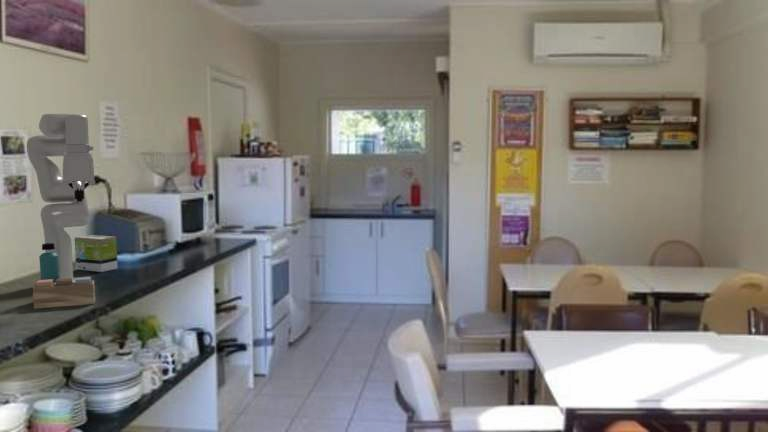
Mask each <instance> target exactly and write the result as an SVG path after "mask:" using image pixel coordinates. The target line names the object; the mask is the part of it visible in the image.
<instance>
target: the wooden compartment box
mask: <svg viewBox="0 0 768 432" xmlns="http://www.w3.org/2000/svg"><path fill="white" fill-rule="evenodd" d="M95 289H96V288H95V280H91V284H77V285H76V284H75V282H72V285H62V286H56V283H53V286H47V287H36V283H35V284H34V285H33V287H32V297H33V299H32V300H33V309H45V308H46V309H47V308H58V307H72V306H86V305H94V304H95V302H96V291H95Z"/></svg>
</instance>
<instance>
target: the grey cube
mask: <svg viewBox="0 0 768 432" xmlns="http://www.w3.org/2000/svg"><path fill="white" fill-rule="evenodd" d="M75 278H76V280H75V284H76V285H77V284H91V281H92V277H91V276H84V277H83V276H82V277H75Z"/></svg>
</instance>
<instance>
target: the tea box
mask: <svg viewBox="0 0 768 432" xmlns="http://www.w3.org/2000/svg"><path fill="white" fill-rule="evenodd" d="M117 249H118V246H117V236H109V235H96V234H89V235H81V236H78V237H74V253H75V255H74V257H75V269H76V270H78V271H87V272H97V273H105V272H107V271H108V272H109V271H112V270H117V269H118V250H117Z"/></svg>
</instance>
